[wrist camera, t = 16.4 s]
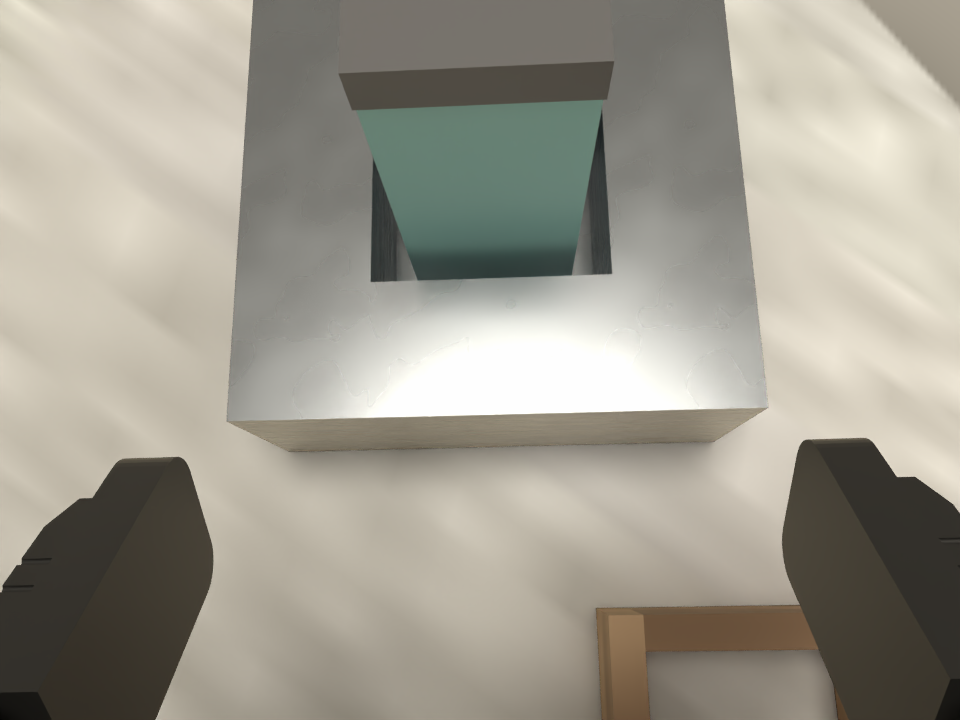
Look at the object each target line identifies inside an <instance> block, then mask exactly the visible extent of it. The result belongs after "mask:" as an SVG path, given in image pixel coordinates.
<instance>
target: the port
mask: <svg viewBox="0 0 960 720" xmlns="http://www.w3.org/2000/svg"><path fill="white" fill-rule="evenodd" d="M340 1H341V0H253V13H252V29H251V45H250V60H249V76H248V92H247V107H246V123H245V139H244V155H243V170H242V186H241V202H240V217H239V233H238V249H237V264H236V280H235V296H234V312H233V327H232V343H231V359H230V374H229V390H228V406H227V422H229V423H231V424H233V425H235V426H237V427H239V428H241V429H243V430H246V431H248V432H250V433H252V434H254V435H256V436H258V437H260V438H262V439H264V440H266V441H268V442H270V443H272V444H275V445H277V446H279V447H281V448H283V449H285V450H287V451H289V452H293V451H335V450H378V449H420V448H462V447H505V446H547V445H590V444H632V443H674V442H714V441H716V440H717V439H719V438H721V437H722V436H724V435H725V434H727V433H729V432H730V431H732V430H733V429H735V428H737V427H738V426H740V425H741V424H743V423H745V422H746V421H748V420H749V419H751V418H753V417H754V416H756V415H757V414H759V413H761V412H762V411H764V410H765V409H767V408H768V399H767V390H766V381H765V371H764V362H763V353H762V344H761V335H760V326H759V316H758V307H757V298H756V289H755V280H754V271H753V261H752V252H751V243H750V234H749V225H748V216H747V207H746V197H745V188H744V179H743V170H742V161H741V152H740V142H739V133H738V124H737V115H736V106H735V97H734V87H733V78H732V69H731V60H730V51H729V42H728V33H727V23H726V14H725V5H724V0H610V3H611V17H612V32H613V47H614V66H613V72H612V77H611V82H610V87H609V93H608V98H607V100H603V105H602V110H601V116H600V121H599V127H598V132H597V138H596V143H595V149H594V154H593V160H592V165H591V171H590V177H589V182H588V188H587V193H586V199H585V204H584V210H583V215H582V221H581V226H580V232H579V237H578V243H577V248H576V254H575V260H574V265H573V271H572V276H544V277H513V278H483V279H452V280H422V281H418V280H417V277H416V275H415V272H414V269H413V266H412V264H411V261H410V258H409V255H408V253H407V250H406V247H405V244H404V241H403V239H402V236H401V233H400V230H399V228H398V225H397V222H396V219H395V217H394V214H393V211H392V208H391V205H390V203H389V200H388V197H387V194H386V192H385V189H384V186H383V183H382V181H381V178H380V175H379V172H378V169H377V167H376V164H375V161H374V158H373V156H372V153H371V150H370V147H369V145H368V142H367V139H366V136H365V133H364V131H363V128H362V125H361V122H360V120H359V117H358V114H357V111H356V110H352V109H351V106H350V104H349V101H348V98H347V96H346V93H345V90H344V88H343V85H342V82H341V79H340V77H339V74H338V66H339V34H340Z"/></svg>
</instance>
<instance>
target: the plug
mask: <svg viewBox="0 0 960 720" xmlns="http://www.w3.org/2000/svg"><path fill="white" fill-rule="evenodd" d="M613 66H614V47H613V32H612V17H611V3H610V0H341V1H340V34H339V66H338V74H339V77H340V79H341V82H342V85H343V88H344V90H345V93H346V96H347V98H348V101H349V104H350V106H351V109H352V110H356V111H357V114H358V117H359V120H360V122H361V125H362V128H363V131H364V133H365V136H366V139H367V142H368V145H369V147H370V150H371V153H372V156H373V158H374V161H375V164H376V167H377V169H378V172H379V175H380V178H381V181H382V183H383V186H384V189H385V192H386V194H387V197H388V200H389V203H390V205H391V208H392V211H393V214H394V217H395V219H396V222H397V225H398V228H399V230H400V233H401V236H402V239H403V241H404V244H405V247H406V250H407V253H408V255H409V258H410V261H411V264H412V266H413V269H414V272H415V275H416V277H417V280H418V281H422V280H452V279H483V278H513V277H544V276H572V271H573V265H574V260H575V254H576V248H577V243H578V237H579V232H580V226H581V221H582V215H583V210H584V204H585V199H586V193H587V188H588V182H589V177H590V171H591V165H592V160H593V154H594V149H595V143H596V138H597V132H598V127H599V121H600V116H601V110H602V105H603V100H607V98H608V93H609V87H610V82H611V77H612V72H613Z"/></svg>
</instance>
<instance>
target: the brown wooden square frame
mask: <svg viewBox="0 0 960 720" xmlns="http://www.w3.org/2000/svg"><path fill="white" fill-rule="evenodd" d="M596 615H597V635H598V654H599V674H600V694H601V713H602V720H650V711H649V696H648V680H647V665H646V652H656V651H737V650H817V649H818V646H817V644H816V642H815V639H814V637H813V635H812V632H811V630H810V628H809V625H808V623H807V621H806V618H805V616H804V614H803V611H802V609H801V607H800V605H774V606H706V607H639V608H596ZM834 688H835V686H834ZM835 696H836V705H837V713H838V720H849V719H848V717H847V715H846V712H845V710H844V707H843V705H842V703H841V700H840V698H839V696H838V693H837V691H836V689H835Z"/></svg>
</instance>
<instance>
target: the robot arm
mask: <svg viewBox="0 0 960 720" xmlns="http://www.w3.org/2000/svg"><path fill="white" fill-rule="evenodd" d="M782 548H783V558H784V564H785V568H786V572H787V575H788V578H789V581H790V583H791V585H792V588H793V590H794V592H795V595H796V597H797V600H798V602H799V604H800V607H801V609H802V611H803V614H804V616H805V618H806V621H807V623H808V625H809V628H810V630H811V632H812V635H813V637H814V639H815V642H816V644H817V646H818V649H819V651H820V654H821V656H822V658H823V661H824V663H825V665H826V668H827V670H828V672H829V675H830V677H831V679H832V682H833V684H834V686H835V689H836V691H837V693H838V696H839V698H840V700H841V703H842V705H843V707H844V710H845V712H846V715H847V717H848V719H849V720H960V513H959V512H958V510H957V509H956V508H955V506H954V505H953V504H952V503H950V502H949V501H948V500H946V499H945V498H944V497H942V496H941V495H939V494H938V493H937V492H935V491H934V490H932V489H931V488H930V487H928V486H927V485H926V484H924V483H923V482H921V481H920V480H919V479H917V478H916V477H896V475H895V474H894V472H893V471H892V469H891V468H890V466H889V465H888V463H887V462H886V461H885V459H884V458H883V456H882V455H881V453H880V452H879V450H878V449H877V447H876V446H875V445H874V443H873V442H872V441H870V440H869V439H867V438H846V439H813V440H805V441H803V442H802V443H801V445H800V447H799V450H798V453H797V458H796V463H795V468H794V474H793V479H792V484H791V489H790V495H789V500H788V505H787V510H786V516H785V521H784V526H783V534H782ZM212 573H213V548H212V543H211V539H210V536H209V532H208V529H207V526H206V522H205V519H204V516H203V512H202V509H201V506H200V502H199V499H198V496H197V492H196V489H195V486H194V482H193V479H192V476H191V472H190V469H189V467H188V465H187V463H186V462H185V460H184V459H182V458H180V457H163V458H130V459H122V460H119V461H118V462H117V463H116V464H115V465H114V467H113V468H112V469H111V471H110V472H109V474H108V475H107V477H106V478H105V480H104V481H103V483H102V484H101V486H100V487H99V489H98V490H97V492H96V493H95V495H94V496H93V498H84V499H79V500H77V501H76V502H75V503H74V504H72V505H71V506H70V507H69V508H67V509H66V510H65V511H63V512H62V513H61V514H60V515H58V516H57V517H56V518H55V519H53V520H52V521H51V522H50V523H48V524H47V525H46V526H45V527H44V528H43V529H42V531H41V532H40V534H39V535H38V536H37V538H36V539H35V541H34V542H33V543H32V545H31V546H30V548H29V549H28V550H27V552H26V553H25V555H24V556H23V557H22V564H21V565H17V566H16V567H15V569H14V570H13V572H12V573H11V574H10V576H9V577H8V579H7V580H6V581H5V583H4V584H3V590H2V593H0V720H155V719H156V717H157V715H158V712H159V710H160V707H161V705H162V702H163V700H164V697H165V695H166V693H167V690H168V688H169V685H170V683H171V680H172V678H173V676H174V673H175V671H176V668H177V666H178V663H179V661H180V659H181V656H182V654H183V651H184V649H185V646H186V644H187V642H188V639H189V637H190V634H191V632H192V629H193V627H194V625H195V622H196V620H197V617H198V615H199V612H200V610H201V608H202V605H203V603H204V600H205V598H206V595H207V593H208V590H209V587H210V584H211V579H212Z"/></svg>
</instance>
